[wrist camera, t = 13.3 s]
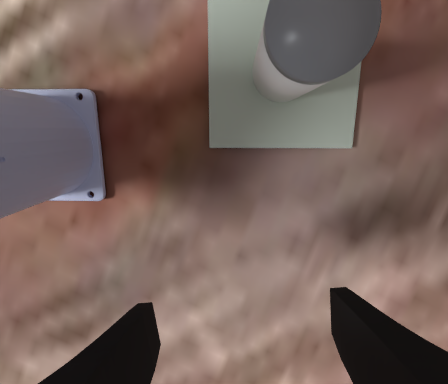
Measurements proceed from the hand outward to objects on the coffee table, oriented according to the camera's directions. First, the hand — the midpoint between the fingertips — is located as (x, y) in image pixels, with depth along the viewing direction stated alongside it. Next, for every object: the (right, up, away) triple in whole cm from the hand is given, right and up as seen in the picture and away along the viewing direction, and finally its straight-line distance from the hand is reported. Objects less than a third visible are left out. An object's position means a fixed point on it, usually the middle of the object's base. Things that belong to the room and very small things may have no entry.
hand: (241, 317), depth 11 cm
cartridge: (+3, +13, +7) cm, 15 cm away
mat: (+3, +13, +7) cm, 15 cm away
